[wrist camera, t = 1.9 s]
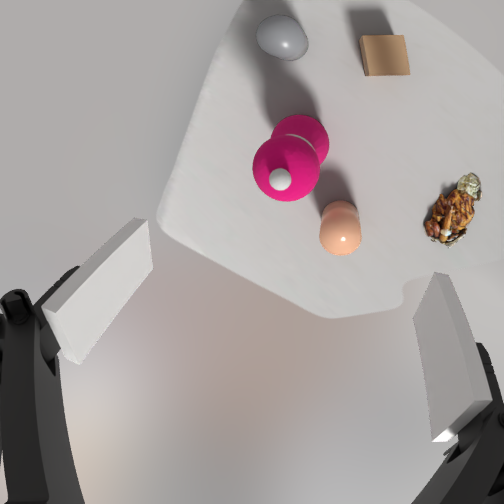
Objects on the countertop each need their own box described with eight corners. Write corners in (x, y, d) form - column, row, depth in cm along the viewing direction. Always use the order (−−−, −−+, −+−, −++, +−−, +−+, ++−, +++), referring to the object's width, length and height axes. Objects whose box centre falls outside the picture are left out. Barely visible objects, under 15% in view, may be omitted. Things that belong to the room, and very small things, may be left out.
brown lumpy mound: (486, 184, 36) (496, 192, 33) (451, 246, 43) (457, 258, 40) (453, 163, 36) (461, 170, 33) (418, 230, 43) (423, 241, 40)
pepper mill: (303, 100, 38) (277, 117, 21) (340, 139, 39) (345, 188, 23) (266, 135, 41) (215, 179, 25) (302, 172, 43) (278, 240, 26)
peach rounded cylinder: (362, 204, 43) (365, 222, 38) (354, 237, 46) (356, 258, 41) (325, 197, 44) (323, 213, 39) (319, 231, 47) (316, 251, 42)
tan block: (395, 40, 30) (403, 35, 26) (401, 75, 32) (410, 74, 28) (358, 40, 31) (362, 35, 27) (365, 76, 34) (369, 75, 30)
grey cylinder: (309, 28, 32) (304, 16, 25) (306, 62, 35) (300, 58, 28) (271, 25, 33) (257, 14, 26) (269, 59, 36) (254, 54, 29)
